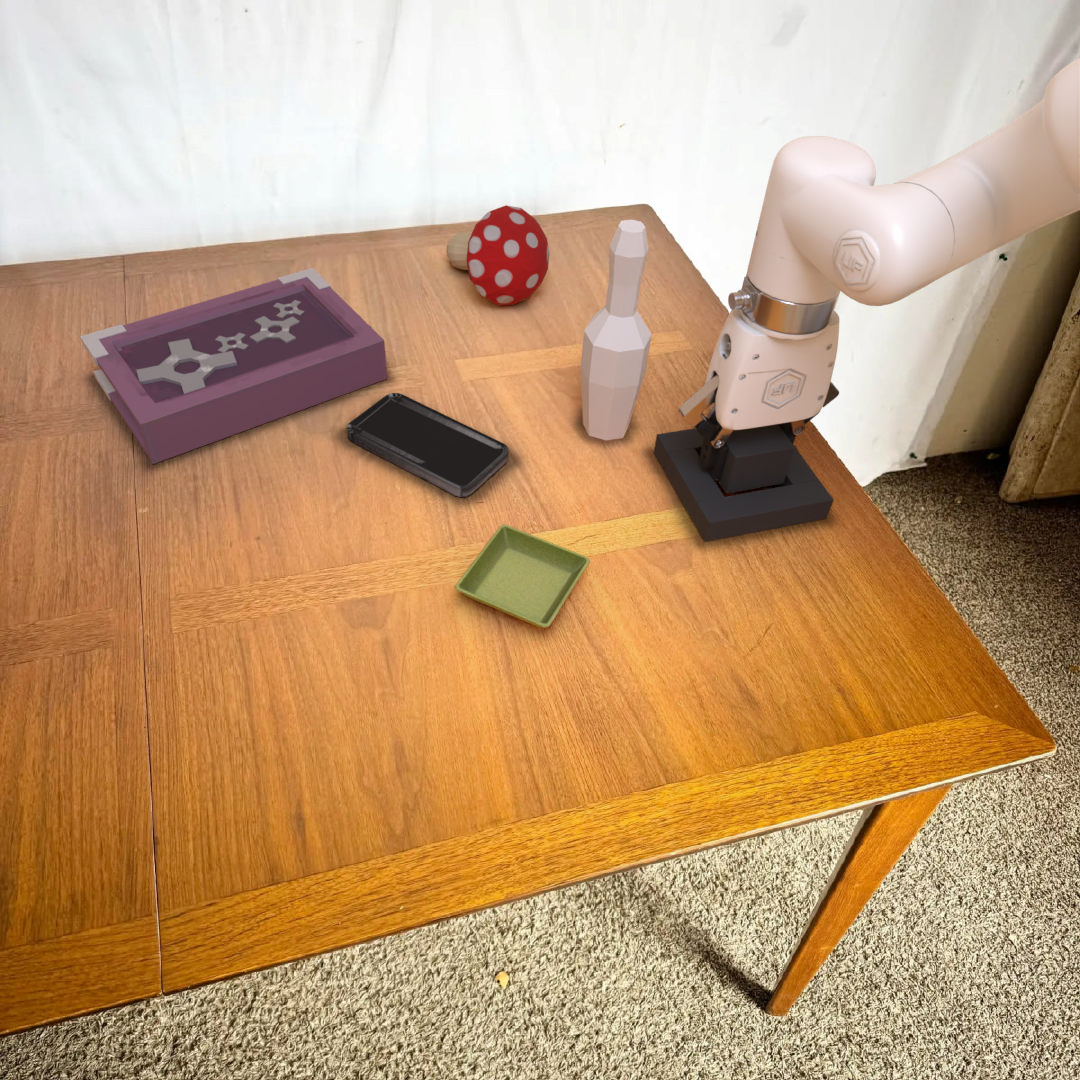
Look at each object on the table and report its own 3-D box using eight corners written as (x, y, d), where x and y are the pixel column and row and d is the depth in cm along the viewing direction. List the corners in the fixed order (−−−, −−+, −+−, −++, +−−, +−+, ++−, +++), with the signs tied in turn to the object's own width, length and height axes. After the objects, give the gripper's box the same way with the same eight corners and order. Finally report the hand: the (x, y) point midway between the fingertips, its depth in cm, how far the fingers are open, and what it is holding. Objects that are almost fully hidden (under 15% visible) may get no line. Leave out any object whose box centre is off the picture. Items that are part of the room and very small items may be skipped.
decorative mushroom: (429, 188, 113) (507, 192, 103) (499, 219, 121) (579, 225, 110) (406, 282, 115) (480, 295, 104) (477, 306, 122) (553, 321, 112)
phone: (393, 389, 98) (513, 447, 93) (393, 398, 99) (513, 456, 94) (340, 429, 94) (464, 492, 88) (342, 438, 94) (464, 501, 89)
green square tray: (590, 574, 84) (592, 557, 82) (546, 643, 78) (548, 627, 77) (501, 539, 86) (502, 522, 85) (453, 604, 81) (453, 587, 79)
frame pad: (826, 518, 90) (834, 499, 88) (704, 542, 87) (709, 522, 85) (767, 434, 98) (772, 415, 97) (653, 453, 95) (656, 434, 94)
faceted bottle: (635, 408, 100) (666, 210, 84) (637, 447, 96) (671, 247, 80) (574, 404, 100) (594, 206, 84) (574, 444, 96) (595, 242, 80)
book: (317, 306, 110) (312, 267, 107) (388, 378, 102) (385, 339, 98) (94, 377, 99) (79, 336, 96) (151, 465, 90) (138, 423, 87)
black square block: (783, 483, 90) (795, 447, 87) (725, 494, 89) (735, 457, 85) (756, 443, 94) (766, 406, 91) (699, 452, 93) (708, 415, 89)
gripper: (710, 338, 74) (673, 506, 87) (904, 311, 78) (842, 476, 91) (672, 286, 78) (643, 453, 91) (857, 264, 83) (804, 426, 96)
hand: (742, 463), depth 91 cm, fingers closed on black square block, 5 cm apart
